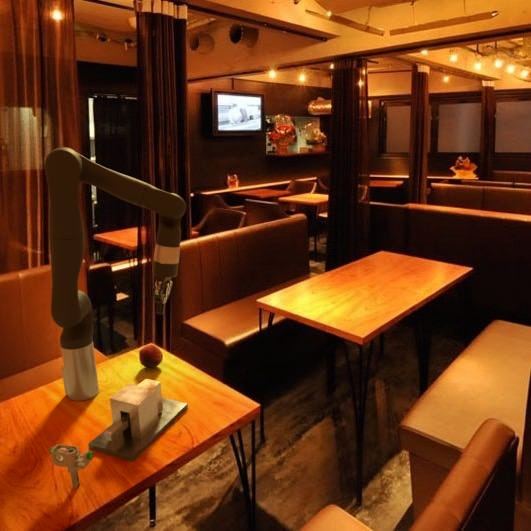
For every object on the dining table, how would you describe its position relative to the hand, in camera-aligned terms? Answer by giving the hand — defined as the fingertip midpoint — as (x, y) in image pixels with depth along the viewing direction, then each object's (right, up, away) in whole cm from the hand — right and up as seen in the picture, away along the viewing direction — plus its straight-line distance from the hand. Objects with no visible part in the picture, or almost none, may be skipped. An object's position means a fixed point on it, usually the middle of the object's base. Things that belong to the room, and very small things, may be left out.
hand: (159, 313), depth 154 cm
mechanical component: (-12, -37, -37) cm, 54 cm away
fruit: (-7, -20, +18) cm, 28 cm away
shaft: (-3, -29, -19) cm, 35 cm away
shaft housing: (-2, -30, -16) cm, 34 cm away
